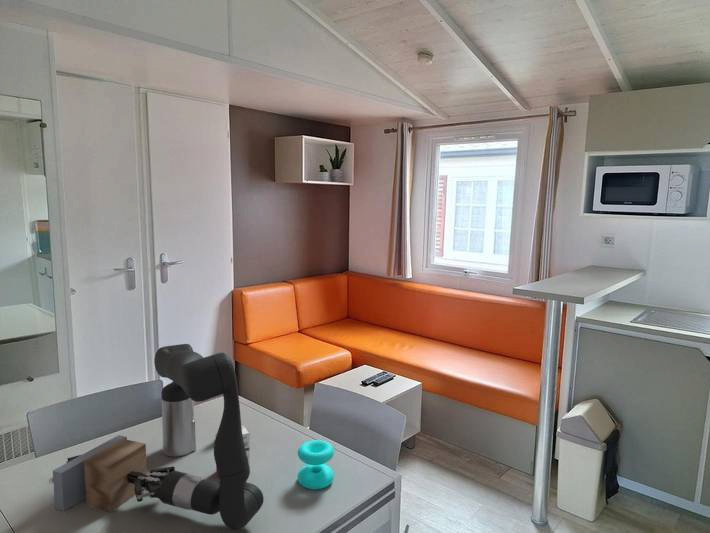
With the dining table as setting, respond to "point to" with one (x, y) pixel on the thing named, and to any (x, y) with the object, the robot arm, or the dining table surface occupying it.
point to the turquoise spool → (315, 464)
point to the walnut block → (113, 474)
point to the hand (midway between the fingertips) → (129, 476)
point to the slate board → (74, 478)
